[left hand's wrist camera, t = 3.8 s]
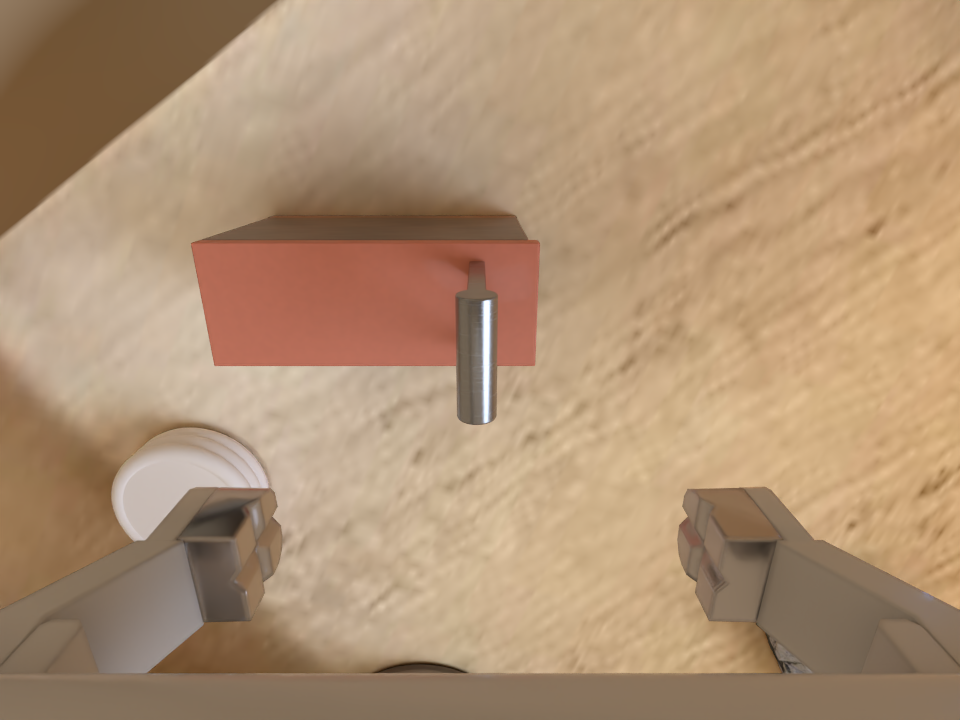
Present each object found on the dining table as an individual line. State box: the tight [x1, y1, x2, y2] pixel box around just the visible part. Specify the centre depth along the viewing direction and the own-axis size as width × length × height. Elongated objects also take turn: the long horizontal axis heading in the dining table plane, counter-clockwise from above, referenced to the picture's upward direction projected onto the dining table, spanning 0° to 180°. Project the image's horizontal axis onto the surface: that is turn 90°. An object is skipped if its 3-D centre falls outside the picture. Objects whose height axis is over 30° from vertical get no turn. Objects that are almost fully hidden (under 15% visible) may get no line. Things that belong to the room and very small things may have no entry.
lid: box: [191, 240, 540, 425], centre depth 22 cm, size 16×6×8 cm, turn 90°
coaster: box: [111, 427, 269, 542], centre depth 39 cm, size 10×10×4 cm
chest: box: [202, 216, 528, 240], centre depth 30 cm, size 15×6×10 cm, turn 90°
